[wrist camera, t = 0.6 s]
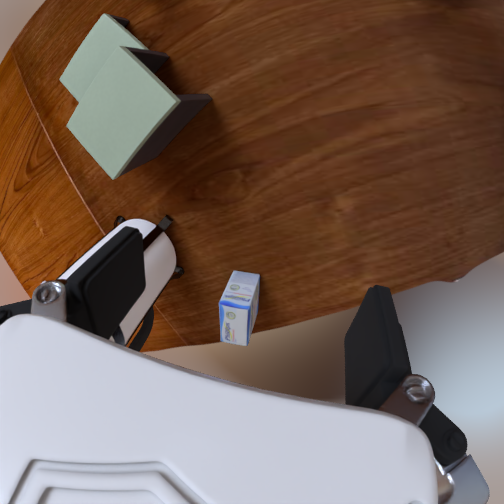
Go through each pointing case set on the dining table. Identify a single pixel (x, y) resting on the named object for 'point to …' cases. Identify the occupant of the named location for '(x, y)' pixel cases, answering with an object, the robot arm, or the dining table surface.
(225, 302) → the medicine box
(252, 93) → the dining table surface
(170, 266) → the coffee press
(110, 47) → the rack
